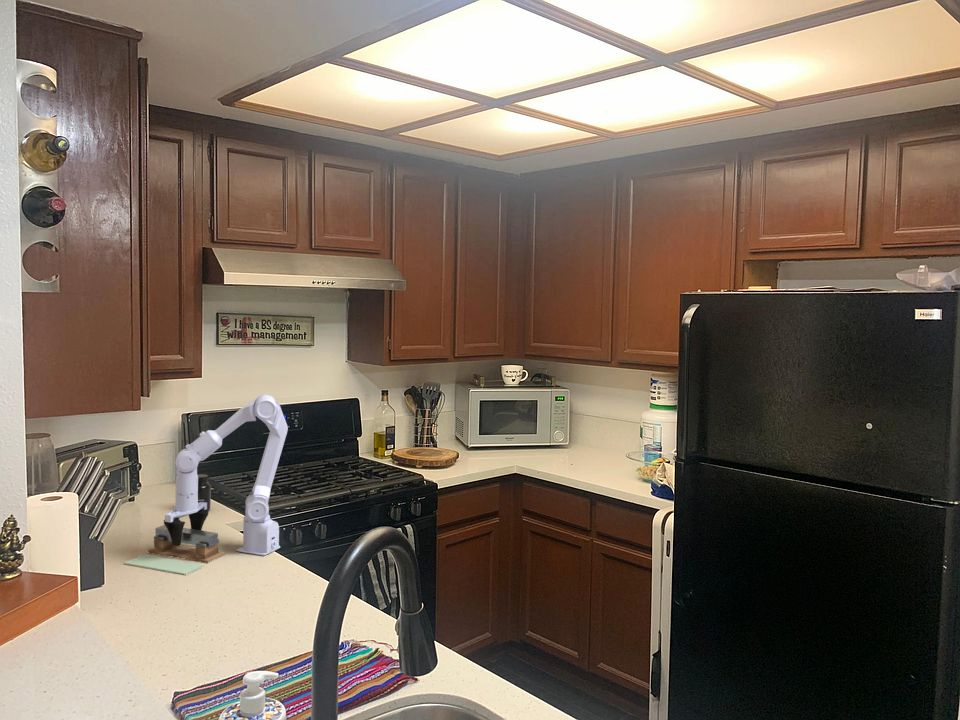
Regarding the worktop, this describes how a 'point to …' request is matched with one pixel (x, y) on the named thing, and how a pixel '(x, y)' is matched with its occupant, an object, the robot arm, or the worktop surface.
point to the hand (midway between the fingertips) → (186, 541)
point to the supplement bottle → (204, 490)
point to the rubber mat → (164, 564)
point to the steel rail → (190, 536)
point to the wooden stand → (186, 550)
